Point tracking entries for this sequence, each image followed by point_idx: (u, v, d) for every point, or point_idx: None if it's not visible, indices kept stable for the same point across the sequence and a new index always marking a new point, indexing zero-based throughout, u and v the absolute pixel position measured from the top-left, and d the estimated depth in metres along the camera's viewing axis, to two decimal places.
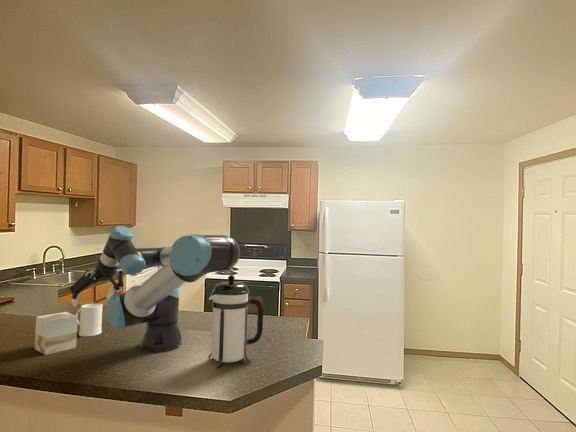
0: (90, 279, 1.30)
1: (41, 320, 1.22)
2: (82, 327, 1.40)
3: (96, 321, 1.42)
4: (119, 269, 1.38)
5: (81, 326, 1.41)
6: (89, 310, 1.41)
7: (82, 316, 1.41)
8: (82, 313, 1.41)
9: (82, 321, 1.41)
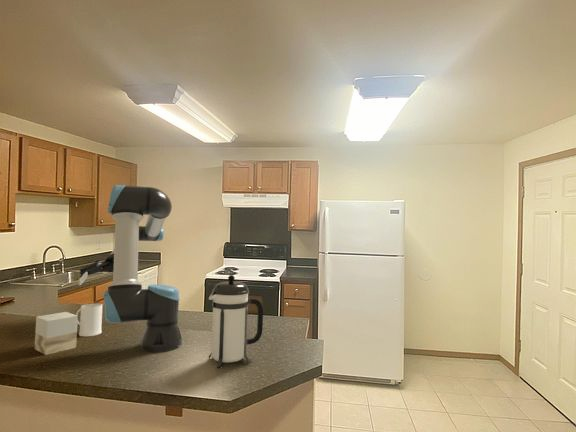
0: None
1: (41, 320, 1.22)
2: (82, 327, 1.40)
3: (96, 321, 1.42)
4: None
5: (81, 326, 1.41)
6: (89, 310, 1.41)
7: (82, 316, 1.41)
8: (82, 313, 1.41)
9: (82, 321, 1.41)
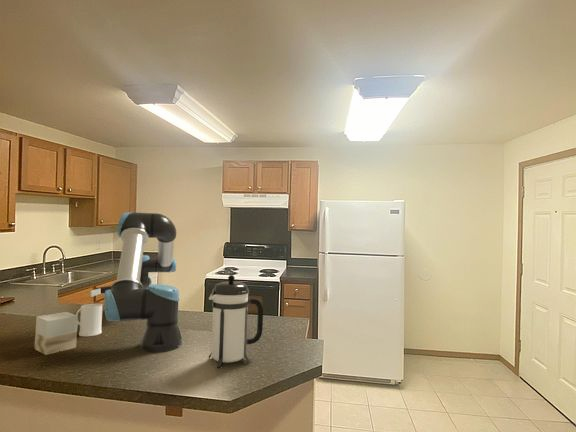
0: None
1: (41, 320, 1.23)
2: (82, 327, 1.40)
3: (96, 321, 1.42)
4: None
5: (81, 326, 1.41)
6: (89, 311, 1.41)
7: (82, 316, 1.41)
8: (82, 313, 1.41)
9: (82, 321, 1.41)
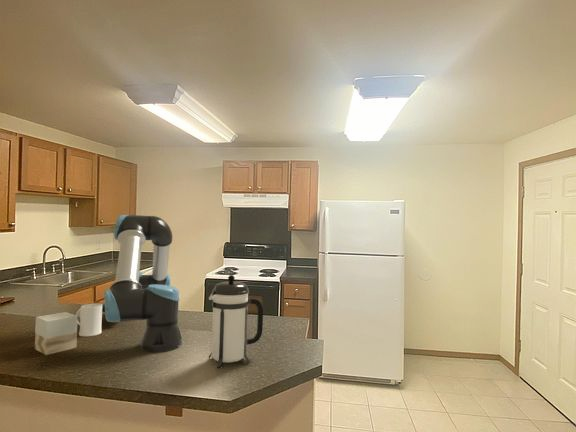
0: None
1: (41, 320, 1.22)
2: (82, 327, 1.40)
3: (96, 321, 1.42)
4: None
5: (81, 326, 1.41)
6: (89, 310, 1.41)
7: (82, 316, 1.41)
8: (82, 313, 1.41)
9: (82, 321, 1.41)
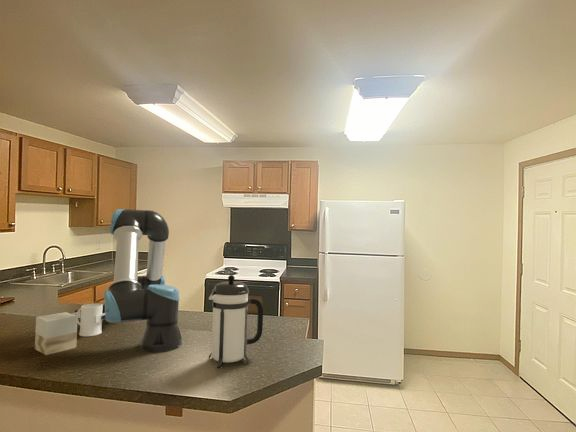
0: None
1: (41, 320, 1.22)
2: (82, 327, 1.40)
3: None
4: None
5: (81, 326, 1.41)
6: (90, 310, 1.41)
7: (82, 316, 1.41)
8: (82, 313, 1.41)
9: (82, 321, 1.41)
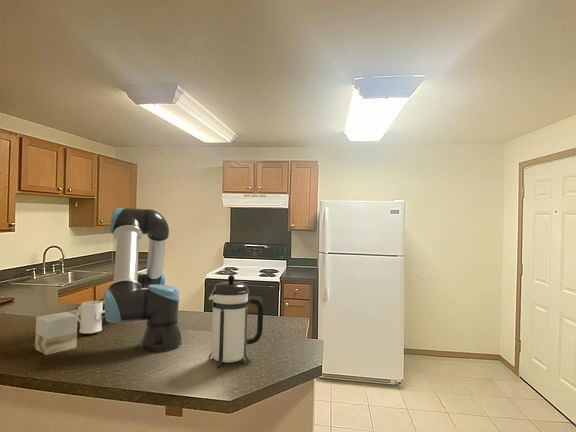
0: None
1: (41, 320, 1.22)
2: (82, 324, 1.41)
3: None
4: None
5: (82, 323, 1.41)
6: (90, 307, 1.41)
7: (83, 313, 1.41)
8: (83, 310, 1.41)
9: (83, 318, 1.41)
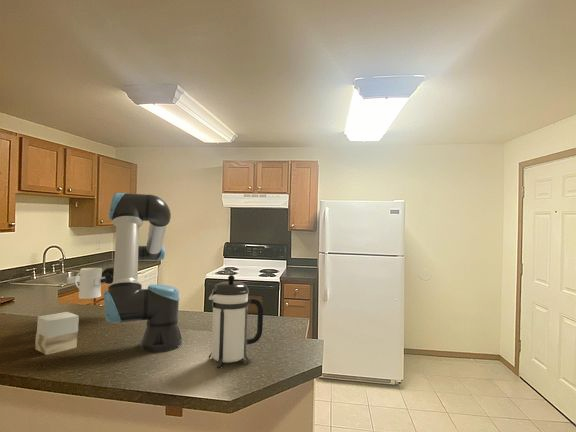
0: None
1: (42, 320, 1.23)
2: (81, 290, 1.40)
3: None
4: None
5: (80, 288, 1.40)
6: (89, 273, 1.40)
7: (81, 278, 1.40)
8: (81, 275, 1.40)
9: (81, 283, 1.40)
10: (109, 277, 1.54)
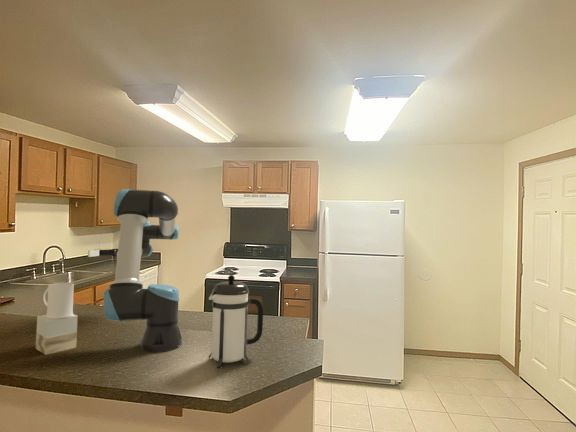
0: None
1: (41, 320, 1.23)
2: (49, 309, 1.23)
3: (66, 302, 1.25)
4: None
5: (48, 307, 1.23)
6: (58, 289, 1.23)
7: (49, 296, 1.23)
8: (49, 292, 1.23)
9: (49, 301, 1.23)
10: None
